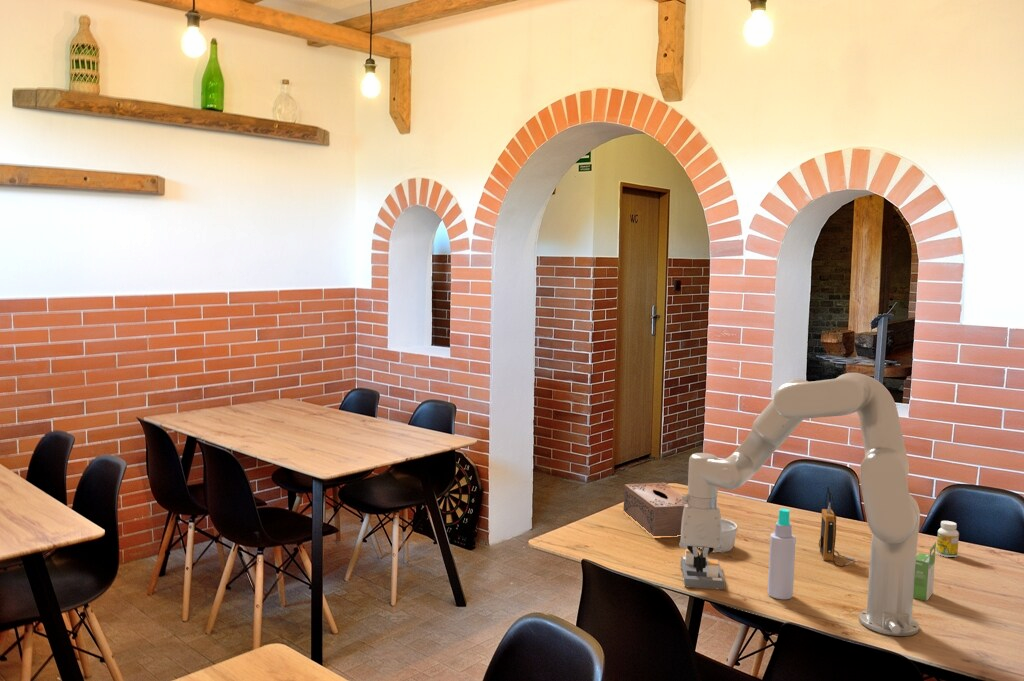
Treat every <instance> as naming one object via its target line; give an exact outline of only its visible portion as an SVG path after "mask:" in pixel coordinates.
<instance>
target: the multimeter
mask: <svg viewBox="0 0 1024 681" xmlns="http://www.w3.org/2000/svg"><path fill="white" fill-rule="evenodd" d="M829 489H830V487H829V486H827V487H826V490H827V491H826V496H825V501H824V502H825V504H824V505H825V508H821V519H820V522H821V523H820V535H819V536H820V537H819V541H818V547H819V554H820V556H821V558H822V560H823V561H830V562H833V564H834V565H835V566H836V567H845V566H849V565H850V564H851V563H853V562H854V561H856V562H861V561H860V560H856V559H855V558H852V557H849V556H845V555H841V554H839V552H838V551H837V550H835V547H836V546H835V545H836V539H837V538H836V537H837V536H836V535H837V516H836V509H835V503H834V502H835V501H834V497H833V493H832V491H830V490H829ZM828 496H829V497H828ZM827 498H828V506H827ZM831 501H832V503H831ZM831 504H832V506H833V509H832V508H831V507H832V506H831ZM835 553H837V555H838V556H839V557H842V558H845V559H846V560H847V559H848V560H850V561H848V562H847V563H844V565H839V564H836V563H835Z"/></svg>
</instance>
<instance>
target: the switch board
mask: <svg viewBox="0 0 1024 681" xmlns="http://www.w3.org/2000/svg"><path fill="white" fill-rule="evenodd" d="M707 559H708V557H706V567H705V568H703V572H700V570H699V572H696V568H695V567H693V565H687V564H685V556H680V567H682V570H681V573H682V572H683V575H682V579H683V578H684V581H683V585H685V586H689V587H688V588H693V587H696V589H706V588H718V589H717V590H720V589H725V588H726V586H725V585H726V581H725V578H724V574H723V570H722V568H721V564H720V560H719V559H716V558H711V559H712V560H718V563H719V569H718V578H716V577H707Z"/></svg>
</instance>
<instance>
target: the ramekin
mask: <svg viewBox="0 0 1024 681" xmlns="http://www.w3.org/2000/svg"><path fill="white" fill-rule="evenodd" d="M721 525H722V538H721V547H722V549H721V550H716V551H714V552H713V553H716V552H721V553H726V551H727V552H729V551H731V550H732V549H733V548H734V546H735V543H736V542H735V541H736V536H737V531H738V525H737V523H736V522H734V521H732V520H730V519H725V518H722V517H721ZM699 548H701V549H702V548H703V547H699ZM699 548H698V549H699ZM701 549H700V550H701Z"/></svg>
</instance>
